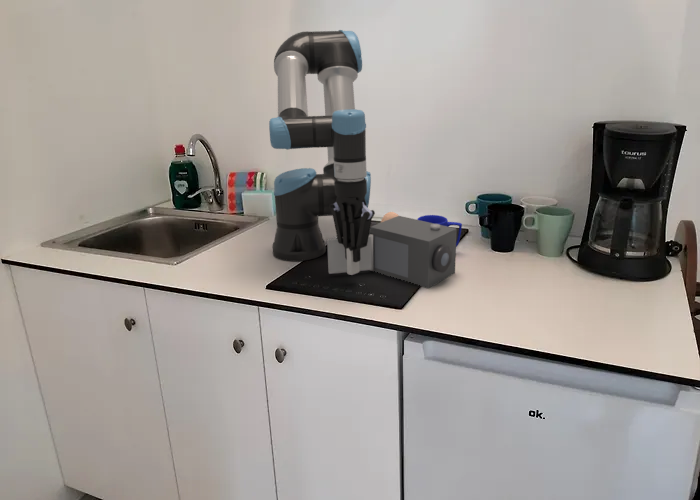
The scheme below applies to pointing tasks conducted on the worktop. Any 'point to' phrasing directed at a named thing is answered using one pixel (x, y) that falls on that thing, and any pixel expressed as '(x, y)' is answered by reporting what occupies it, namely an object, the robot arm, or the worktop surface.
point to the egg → (389, 216)
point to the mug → (441, 222)
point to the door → (339, 262)
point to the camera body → (414, 250)
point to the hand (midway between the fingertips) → (353, 272)
